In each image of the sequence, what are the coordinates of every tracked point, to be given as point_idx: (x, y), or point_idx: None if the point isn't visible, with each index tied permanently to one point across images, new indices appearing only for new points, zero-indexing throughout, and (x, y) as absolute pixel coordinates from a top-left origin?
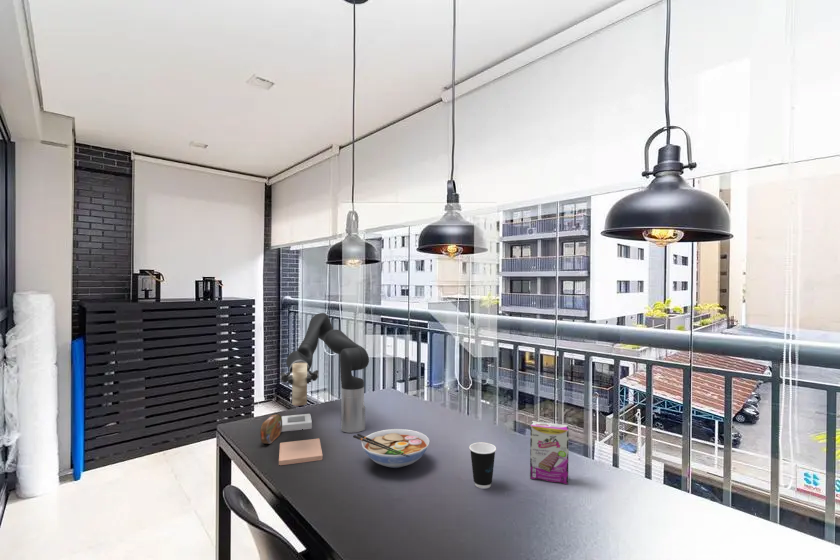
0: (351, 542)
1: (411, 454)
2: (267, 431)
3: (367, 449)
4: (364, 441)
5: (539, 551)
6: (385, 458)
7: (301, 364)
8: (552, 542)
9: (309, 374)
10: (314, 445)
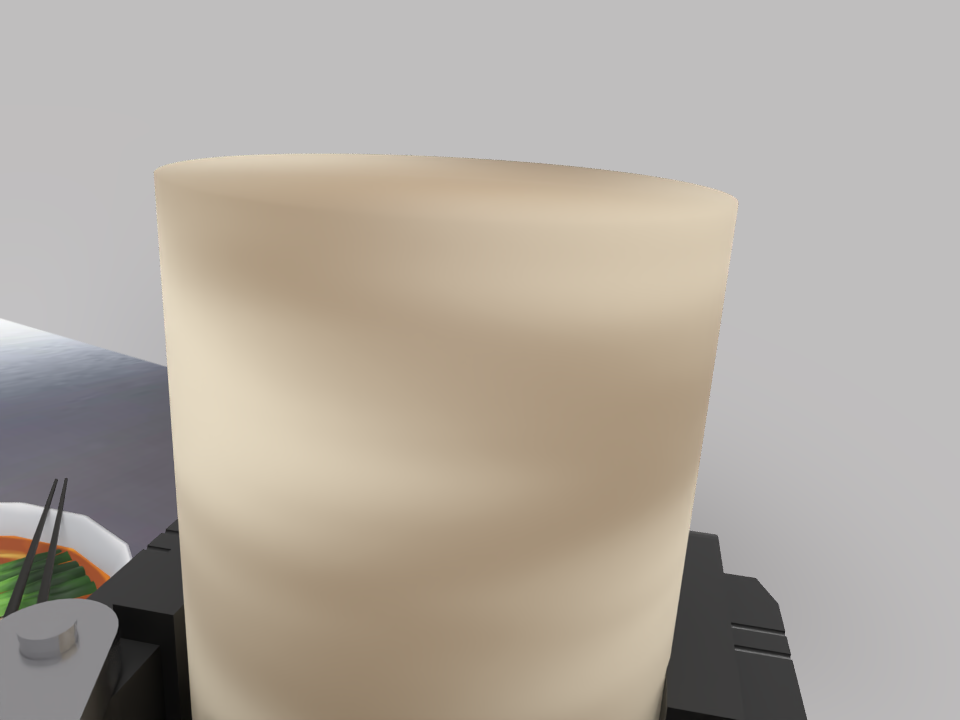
0: None
1: (3, 510)
2: None
3: None
4: None
5: (151, 363)
6: (106, 560)
7: (424, 164)
8: (103, 363)
9: (51, 622)
10: None
